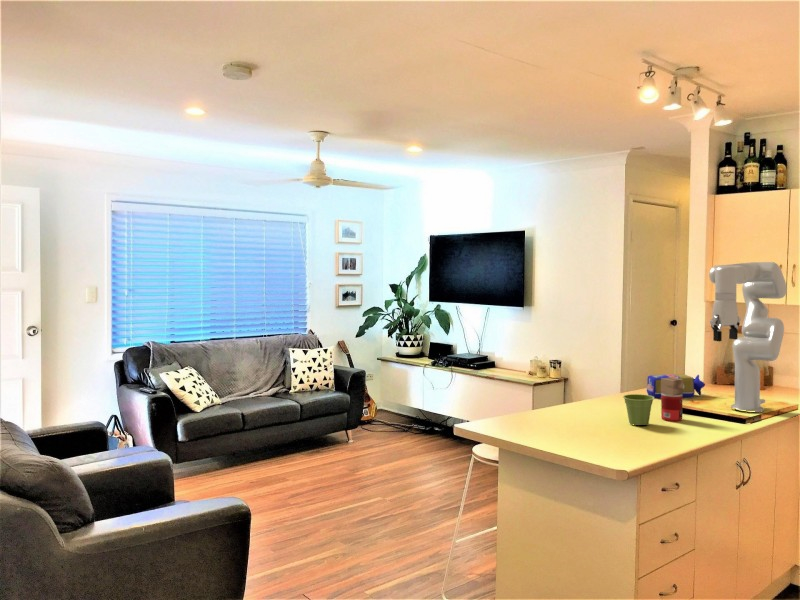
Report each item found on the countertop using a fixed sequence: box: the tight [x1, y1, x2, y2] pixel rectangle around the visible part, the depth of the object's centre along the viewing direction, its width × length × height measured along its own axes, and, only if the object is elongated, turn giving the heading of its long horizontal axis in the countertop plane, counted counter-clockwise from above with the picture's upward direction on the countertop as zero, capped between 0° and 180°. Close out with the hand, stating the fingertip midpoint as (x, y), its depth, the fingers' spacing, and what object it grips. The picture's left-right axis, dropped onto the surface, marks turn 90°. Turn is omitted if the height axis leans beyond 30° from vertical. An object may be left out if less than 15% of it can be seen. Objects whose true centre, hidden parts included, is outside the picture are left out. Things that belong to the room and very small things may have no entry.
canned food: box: [660, 393, 683, 423], centre depth 260 cm, size 8×8×11 cm
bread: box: [646, 373, 706, 399], centre depth 303 cm, size 10×25×10 cm, turn 90°
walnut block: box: [661, 377, 683, 395], centre depth 259 cm, size 6×6×6 cm
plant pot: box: [622, 393, 655, 426], centre depth 254 cm, size 12×12×11 cm
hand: (725, 340), depth 252 cm, fingers open, 9 cm apart
